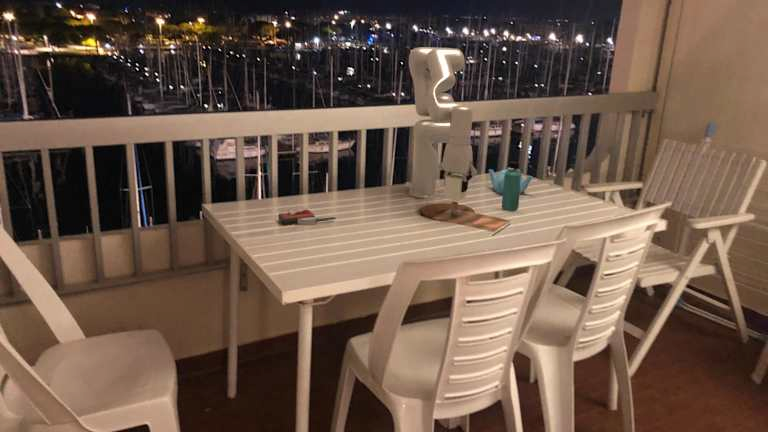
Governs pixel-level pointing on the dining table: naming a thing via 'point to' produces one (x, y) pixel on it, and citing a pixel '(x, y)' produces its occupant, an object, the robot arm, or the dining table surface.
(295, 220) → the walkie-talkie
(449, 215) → the board
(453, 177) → the beige upright block
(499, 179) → the teapot
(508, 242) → the dining table surface
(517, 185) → the beverage bottle
